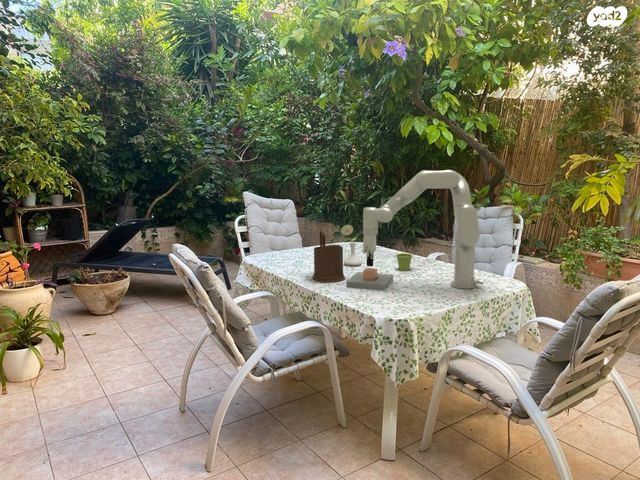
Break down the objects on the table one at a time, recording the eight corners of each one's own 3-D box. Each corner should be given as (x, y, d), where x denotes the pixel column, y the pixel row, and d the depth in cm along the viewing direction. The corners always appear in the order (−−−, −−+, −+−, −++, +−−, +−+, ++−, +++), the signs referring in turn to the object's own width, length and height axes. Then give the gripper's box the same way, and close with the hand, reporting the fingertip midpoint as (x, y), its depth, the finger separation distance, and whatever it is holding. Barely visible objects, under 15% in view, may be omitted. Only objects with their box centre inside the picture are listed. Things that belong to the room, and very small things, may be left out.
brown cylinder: (316, 284, 233) (316, 237, 229) (306, 273, 256) (305, 230, 252) (350, 281, 238) (350, 235, 234) (336, 270, 261) (336, 228, 256)
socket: (393, 280, 239) (393, 274, 238) (384, 290, 220) (384, 284, 220) (357, 277, 246) (357, 272, 245) (346, 286, 228) (346, 281, 227)
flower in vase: (362, 262, 280) (362, 223, 275) (362, 267, 269) (362, 226, 264) (341, 262, 281) (341, 223, 277) (340, 266, 270) (340, 226, 266)
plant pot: (411, 272, 255) (411, 257, 254) (394, 270, 258) (394, 256, 257) (413, 268, 264) (413, 253, 262) (397, 267, 267) (397, 253, 265)
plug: (377, 281, 235) (377, 268, 233) (374, 284, 229) (374, 271, 228) (366, 280, 237) (366, 267, 236) (363, 283, 231) (363, 270, 230)
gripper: (367, 228, 236) (366, 262, 240) (359, 233, 223) (358, 268, 226) (381, 229, 234) (380, 263, 237) (373, 234, 220) (373, 269, 223)
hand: (369, 265), depth 231 cm, fingers closed
